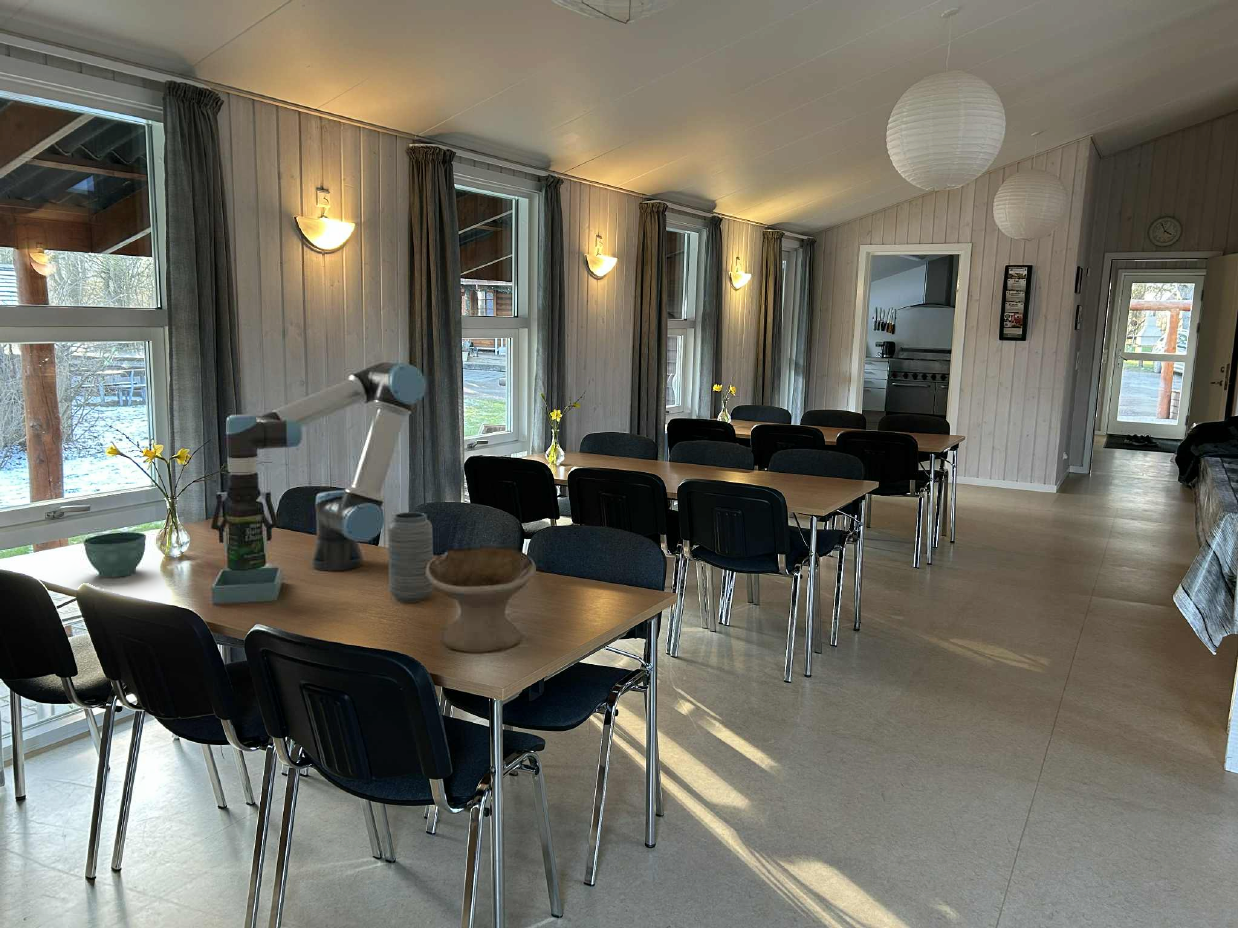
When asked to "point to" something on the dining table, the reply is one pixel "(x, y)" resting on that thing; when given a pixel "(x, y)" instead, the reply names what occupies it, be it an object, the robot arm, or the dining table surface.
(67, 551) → the dining table surface
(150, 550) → the dining table surface
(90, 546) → the green bowl
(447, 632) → the bowl
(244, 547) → the coffee jar
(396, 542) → the vase
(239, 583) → the bin
